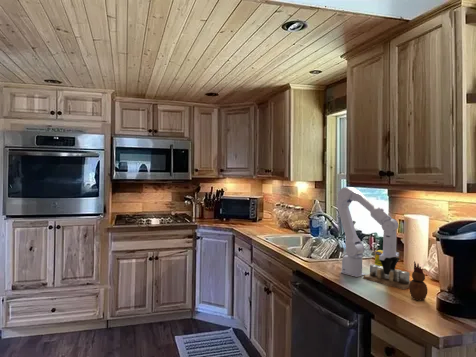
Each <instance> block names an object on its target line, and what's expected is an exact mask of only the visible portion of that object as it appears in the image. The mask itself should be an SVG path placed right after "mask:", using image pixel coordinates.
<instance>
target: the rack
mask: <svg viewBox="0 0 476 357" xmlns="http://www.w3.org/2000/svg"><path fill="white" fill-rule="evenodd" d="M396 270H400V271H402V270H401V269H396ZM393 275H394V272H389V279H385V278H381V269H377V276H372V275H370V273H369V274H366V275H363V276H362V277H363V278H362V279H364V280H369V281H371V282H374V283H375V282H376V283H378V284H383V285H387V286H390V287H394V288H397V289H401V290H406V289H409V284H410V282H411V281H412V280H409V284H404V283H400V282H397V281H393Z"/></svg>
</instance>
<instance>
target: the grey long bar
mask: <svg viewBox="0 0 476 357" xmlns="http://www.w3.org/2000/svg"><path fill="white" fill-rule="evenodd" d="M377 269H381V278H385V279H389V275H388V274H384V270H383V266H379V265H375V264H370V265H369V274H370V275H372V276H377ZM400 270H401V269H399V270H397V269H396V268H395V269H392V268H390V272H394V275H393V281H397V282H400V283H404V284H409V281H410V275H411V273H410V272H409V271H404V270H401V271H400Z"/></svg>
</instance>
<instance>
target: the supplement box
mask: <svg viewBox="0 0 476 357" xmlns="http://www.w3.org/2000/svg"><path fill="white" fill-rule="evenodd" d="M382 253H383V249H378V250H376V251H375V253H374V265H379V266H382V263H381V261H380V260H379V255H381V254H382Z"/></svg>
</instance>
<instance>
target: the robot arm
mask: <svg viewBox="0 0 476 357" xmlns="http://www.w3.org/2000/svg"><path fill="white" fill-rule="evenodd" d="M337 197H338V198H337V200H336V201H337V203H336V207H337V211H338V214H339V218H340V221H341V226H342V228H343V232H344V234H345V239H346V240H345V243H344V244H345V253H346V254H345V255H343V256H342V259H341V271H340V273H341V274H343V275H348V276H352V277H355V278H358V277H363V276H365V275H367V274H366V273H364V272H363V254H365V253H364V252H365V248H366V247H365V245H364V244H363V243H362V241H361V238H359V237H358V235H357V231H356V228H355V224H354V220H353V217H352V215H351V211H350V208H349V207H350V205H351V204H352V202H357V203H359V204H360V205H361V206H363V208H365V209H366V210H367V211H369V212H370V213H369V214H370V216H371V217H372V218H373V220H375V222H377V223H378V224H379V225H380V226H381V228H382V230H383V239H382V241H383V242H382V250H383V253H382V254H381V255H379V260H380V261H381V263H382V266H383V270H384V274H388V275H389V272H390V268H392V269H396V266H397V264H398V263H399V261H400V258H399V257H400V252H398V251H397V235H398V234H397V230H398V228H399V222H398V221H397V220H396V219H395V218H392V216H391V215H389V214H387V213H386V211H385V209H384V208H383V207H382V208H381V207H376V206H375V205H374V204H373V203H372V202H370V200H369V199H367V197H366V196H365V195H364V194H363V193H362V192H361V191H360V190H358V189H357V188H356V187H352V186H351V187H345V186H344V187H342V188H340V190H339V191H338V193H337Z"/></svg>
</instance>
